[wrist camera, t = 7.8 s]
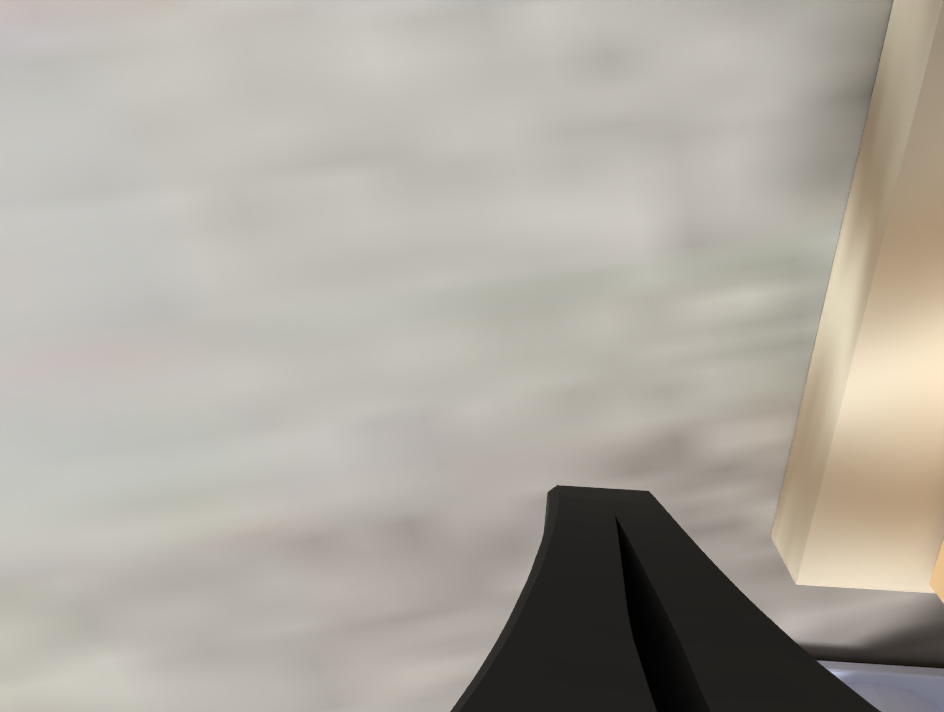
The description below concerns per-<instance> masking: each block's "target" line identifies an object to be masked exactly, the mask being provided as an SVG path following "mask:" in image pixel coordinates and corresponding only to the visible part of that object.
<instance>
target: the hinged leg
mask: <svg viewBox="0 0 944 712" xmlns="http://www.w3.org/2000/svg"><path fill="white" fill-rule="evenodd" d="M929 585H930V586H931V587H932V589H933V590H934V591H935V593H936V594H937V595H938V596H939V598H940V599H941V600H942V602H943V603H944V539H943V542H942V545H941V548H940V551H939V555H938V558H937V561H936V564H935V567H934V570H933V573H932V576H931V579H930V582H929Z"/></svg>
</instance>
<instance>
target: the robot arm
mask: <svg viewBox="0 0 944 712" xmlns="http://www.w3.org/2000/svg"><path fill="white" fill-rule="evenodd" d="M451 712H944V669H942V668H926V667H911V666H895V665H879V664H864V663H848V662H833V661H817V660H815V659H814V658H813V657H812V656H811V655H809V654H808V653H807V652H806V651H805V650H804V649H802V648H801V647H800V646H799V645H798V644H797V643H796V642H794V641H793V640H792V639H791V638H790V637H789V636H788V635H787V634H786V633H785V632H784V631H782V630H781V629H780V628H779V627H778V626H777V625H776V624H775V623H774V622H773V621H772V620H771V619H769V618H768V617H767V616H766V615H765V614H764V613H763V612H762V611H761V610H760V609H759V608H758V607H757V606H756V605H755V604H753V603H752V602H751V601H750V600H749V599H748V598H747V597H746V596H745V595H744V594H743V593H742V592H741V591H740V590H739V589H738V588H737V587H736V586H735V585H734V584H733V583H732V582H731V581H730V580H729V579H728V578H727V577H726V576H725V574H724V573H723V572H722V571H721V570H720V569H719V568H718V567H717V566H716V565H715V564H714V563H713V562H712V561H711V560H710V559H709V558H708V557H707V555H706V554H705V553H704V552H703V551H702V550H701V549H700V548H699V547H698V546H697V545H696V543H695V542H694V541H693V540H692V539H691V538H690V537H689V536H688V535H687V533H686V532H685V531H684V530H683V529H682V528H681V527H680V526H679V524H678V523H677V522H676V521H675V520H674V519H673V518H672V516H671V515H670V514H669V513H668V512H667V511H666V510H665V509H664V507H663V506H662V505H661V504H660V503H659V502H658V501H657V499H656V498H655V497H654V496H653V495H652V494H651V493H650V492H649V491H640V490H624V489H607V488H591V487H575V486H559V485H557V486H556V487H554V488H553V489H552V490H550V491H549V492H548V495H547V505H546V516H545V526H544V534H543V538H542V542H541V545H540V547H539V550H538V553H537V556H536V558H535V561H534V564H533V567H532V569H531V572H530V575H529V577H528V580H527V582H526V584H525V586H524V588H523V590H522V592H521V595H520V597H519V599H518V601H517V603H516V605H515V607H514V609H513V611H512V613H511V615H510V617H509V620H508V621H507V623H506V625H505V627H504V629H503V631H502V633H501V634H500V636H499V638H498V640H497V641H496V643H495V645H494V647H493V648H492V650H491V652H490V653H489V655H488V657H487V658H486V660H485V661H484V663H483V665H482V666H481V668H480V669H479V671H478V673H477V674H476V676H475V677H474V679H473V680H472V682H471V683H470V685H469V686H468V687H467V689H466V690H465V692H464V693H463V695H462V696H461V697H460V699H459V700H458V702H457V703H456V705H455V706H454V707H453V709H452V710H451Z"/></svg>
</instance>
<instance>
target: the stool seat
mask: <svg viewBox="0 0 944 712" xmlns="http://www.w3.org/2000/svg"><path fill="white" fill-rule="evenodd" d="M771 538H772V540H773V542H774V544H775V546H776V548H777V549H778V551H779V553H780V555H781V557H782V559H783V561H784V563H785V565H786V566H787V568H788V570H789V572H790V574H791V576H792V578H793V580H794V582H795V583H796V585H812V586H828V587H844V588H860V589H876V590H893V591H909V592H925V593H935V591H934V590H933V589H932V587H931V586H930V585H929V582H930V579H931V576H932V573H933V570H934V567H935V564H936V561H937V558H938V555H939V551H940V548H941V545H942V542H943V539H944V0H894V2H893V6H892V10H891V15H890V19H889V23H888V28H887V32H886V36H885V41H884V45H883V50H882V54H881V58H880V63H879V67H878V71H877V76H876V80H875V84H874V89H873V93H872V98H871V102H870V106H869V111H868V115H867V119H866V124H865V128H864V132H863V137H862V141H861V146H860V150H859V154H858V159H857V163H856V167H855V172H854V176H853V180H852V185H851V189H850V194H849V198H848V202H847V207H846V211H845V215H844V220H843V224H842V228H841V233H840V237H839V242H838V246H837V250H836V255H835V259H834V263H833V268H832V272H831V276H830V281H829V285H828V290H827V294H826V298H825V303H824V307H823V311H822V316H821V320H820V325H819V329H818V333H817V338H816V342H815V346H814V351H813V355H812V359H811V364H810V368H809V373H808V377H807V381H806V386H805V390H804V394H803V399H802V403H801V407H800V412H799V416H798V421H797V425H796V429H795V434H794V438H793V442H792V447H791V451H790V455H789V460H788V464H787V469H786V473H785V477H784V482H783V486H782V490H781V495H780V499H779V503H778V508H777V512H776V517H775V521H774V525H773V530H772V534H771Z"/></svg>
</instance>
